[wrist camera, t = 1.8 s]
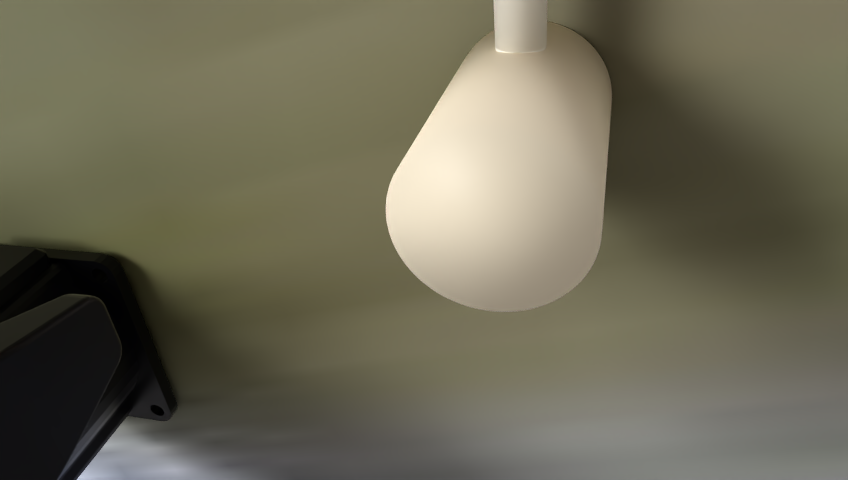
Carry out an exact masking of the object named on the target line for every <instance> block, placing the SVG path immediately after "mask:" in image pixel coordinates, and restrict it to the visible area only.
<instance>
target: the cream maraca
mask: <svg viewBox="0 0 848 480" xmlns="http://www.w3.org/2000/svg"><path fill="white" fill-rule="evenodd" d="M494 27H495V30H493V31H491V32H490V33H488V34H487V35H486V36H484V37H483V38H482V39H481V40H479V41H478V42H477V43H476V44H475V45H474V46H473V48H472V49H471V50H470V51H469V53H468V54H467V56H466V58H465V59H464V61H463V62H462V64H461V66H460V67H459V69H458V71H457V72H456V74H455V75H454V77H453V79H452V80H451V82H450V84H449V85H448V87H447V89H446V90H445V92H444V93H443V95H442V97H441V98H440V100H439V102H438V103H437V105H436V107H435V108H434V110H433V111H432V113H431V115H430V116H429V118H428V120H427V121H426V123H425V124H424V126H423V128H422V129H421V131H420V133H419V134H418V136H417V138H416V139H415V141H414V142H413V144H412V146H411V147H410V149H409V151H408V152H407V154H406V156H405V157H404V159H403V160H402V162H401V164H400V165H399V167H398V169H397V170H396V172H395V174H394V176H393V178H392V180H391V183H390V185H389V189H388V194H387V199H386V220H387V225H388V230H389V234H390V236H391V239H392V242H393V244H394V246H395V248H396V250H397V252H398V254H399V256H400V257H401V259H402V260H403V262H404V263H405V264H406V266H407V267H408V268H409V269H410V270H411V271H412V273H413V274H414V275H415V276H416V277H418V278H419V279H420V280H421V281H422V282H423V283H424V284H426V285H427V286H428V287H430V288H431V289H432V290H434V291H435V292H437V293H439V294H440V295H442V296H444V297H446V298H448V299H450V300H452V301H454V302H457V303H459V304H462V305H465V306H468V307H472V308H476V309H480V310H487V311H495V312H514V311H523V310H529V309H533V308H537V307H540V306H543V305H546V304H548V303H551V302H553V301H555V300H557V299H559V298H560V297H562V296H564V295H566V294H567V293H568V292H570V291H571V290H572V289H573V288H575V287H576V286H577V285H578V284H579V283H580V282H581V281H582V280H583V279H584V277H585V276H586V275H587V273H588V272H589V270H590V269H591V267H592V265H593V263H594V261H595V259H596V257H597V254H598V251H599V248H600V244H601V237H602V227H603V213H604V200H605V186H606V173H607V159H608V146H609V132H610V119H611V105H612V87H611V81H610V77H609V74H608V70H607V68H606V66H605V64H604V62H603V60H602V58H601V57H600V55H599V54H598V52H597V51H596V50H595V49H594V47H593V46H592V45H591V44H590V43H589V42H588V41H587V40H586V39H584V38H583V37H582V36H580V35H579V34H577V33H576V32H574V31H573V30H571V29H569V28H566V27H564V26H562V25H559V24H556V23H552V22H547V0H494Z"/></svg>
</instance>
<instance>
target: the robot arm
mask: <svg viewBox="0 0 848 480" xmlns="http://www.w3.org/2000/svg"><path fill="white" fill-rule="evenodd" d="M177 408H178V407H177V402H176V400H175V397H174V395H173V392H172V390H171V387H170V385H169V382H168V380H167V377H166V375H165V372H164V370H163V367H162V365H161V362H160V360H159V357H158V355H157V352H156V350H155V347H154V345H153V342H152V340H151V337H150V335H149V332H148V330H147V327H146V325H145V322H144V320H143V318H142V315H141V313H140V310H139V308H138V305H137V303H136V300H135V298H134V295H133V293H132V290H131V288H130V285H129V283H128V280H127V278H126V275H125V273H124V270H123V268H122V266H121V265H120V263H119V262H118V261H117V260H116V259H114V258H113V257H111V256H109V255H106V254H102V253H90V252H78V251H65V250H53V249H41V248H33V247H21V246H9V245H0V480H77V478H78V477H79V476H80V475H81V473H82V472H83V471H84V470H85V468H86V467H87V466H88V465H89V463H90V462H91V461H92V459H93V458H94V457H95V456H96V454H97V453H98V452H99V451H100V449H101V448H102V447H103V446H104V444H105V443H106V442H107V441H108V439H109V438H110V437H111V436H112V434H113V433H114V432H115V431H116V429H117V428H118V427H119V426H120V424H121V423H122V422H123V421H124V419H125V418H126V417H127V416H133V417H139V418H146V419H152V420H159V421H167V420H169V419H170V418H171V417H172V415H173V414H174V413H175V411H176V410H177Z"/></svg>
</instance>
